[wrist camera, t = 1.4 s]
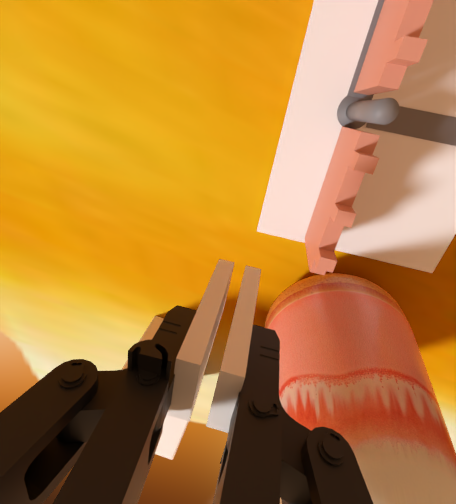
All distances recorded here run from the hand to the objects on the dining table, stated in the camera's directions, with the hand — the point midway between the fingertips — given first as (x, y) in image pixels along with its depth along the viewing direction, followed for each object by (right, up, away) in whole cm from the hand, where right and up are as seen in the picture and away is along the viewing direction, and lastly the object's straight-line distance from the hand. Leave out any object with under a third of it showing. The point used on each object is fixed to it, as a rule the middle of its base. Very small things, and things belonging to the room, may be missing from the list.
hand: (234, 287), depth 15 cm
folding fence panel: (+9, +8, +12) cm, 17 cm away
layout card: (+14, +12, +10) cm, 21 cm away
